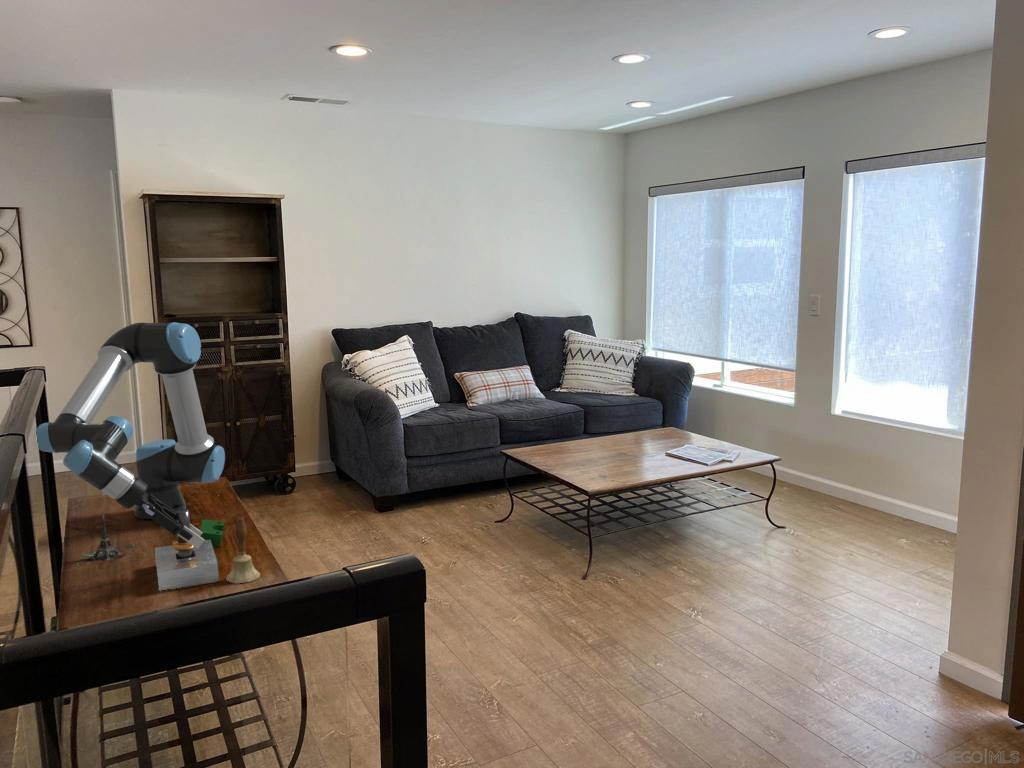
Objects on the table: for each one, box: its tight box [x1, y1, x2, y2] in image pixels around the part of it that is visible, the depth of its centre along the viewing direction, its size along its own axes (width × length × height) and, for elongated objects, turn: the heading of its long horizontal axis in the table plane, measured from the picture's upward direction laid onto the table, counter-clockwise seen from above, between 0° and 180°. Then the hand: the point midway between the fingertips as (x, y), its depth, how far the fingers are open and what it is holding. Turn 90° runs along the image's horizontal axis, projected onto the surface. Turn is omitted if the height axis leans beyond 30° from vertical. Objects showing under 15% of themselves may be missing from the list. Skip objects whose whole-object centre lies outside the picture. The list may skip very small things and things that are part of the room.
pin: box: [172, 508, 194, 559], centre depth 203 cm, size 6×6×14 cm
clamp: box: [199, 519, 225, 548], centre depth 224 cm, size 12×6×9 cm, turn 12°
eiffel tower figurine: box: [76, 514, 136, 567], centre depth 215 cm, size 15×10×13 cm
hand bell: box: [226, 517, 261, 585], centre depth 201 cm, size 8×8×16 cm
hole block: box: [154, 540, 220, 592], centre depth 204 cm, size 18×14×5 cm
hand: (199, 540), depth 205 cm, fingers closed on pin, 5 cm apart
